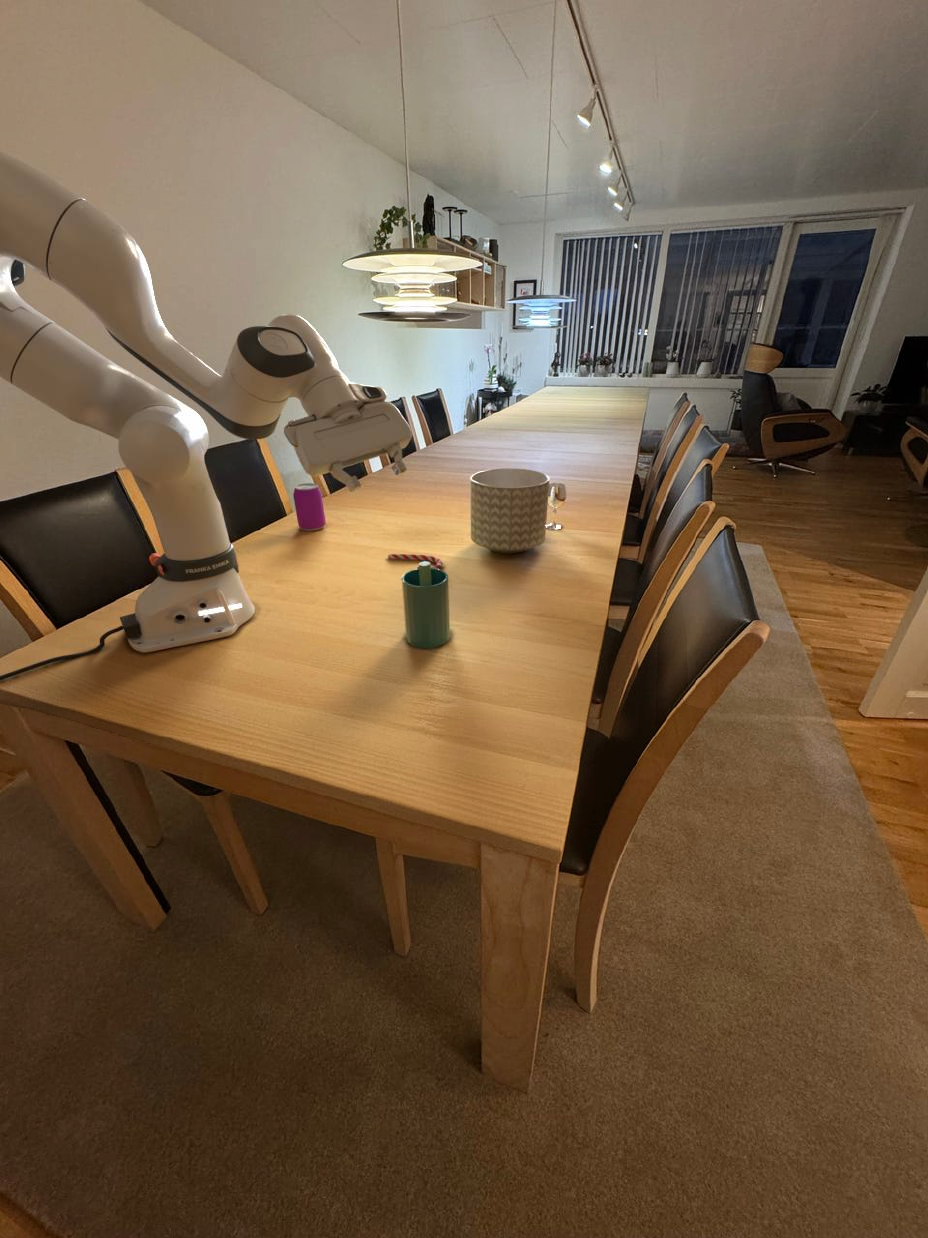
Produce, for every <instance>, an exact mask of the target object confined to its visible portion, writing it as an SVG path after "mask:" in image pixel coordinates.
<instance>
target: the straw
mask: <svg viewBox="0 0 928 1238" xmlns="http://www.w3.org/2000/svg"><path fill="white" fill-rule="evenodd" d="M418 567H419V576H420V586H431V585H432V584H431V567H432V566H431V561H420V562H419V563H418Z"/></svg>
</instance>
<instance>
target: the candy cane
mask: <svg viewBox="0 0 928 1238" xmlns="http://www.w3.org/2000/svg"><path fill="white" fill-rule="evenodd" d="M387 558H388V560H410V561H412V560H413V561H424V562H430V563H431V562H432V563H435V564H436V565H432V566H431V568H435V569H439V570H442V568H443V565H444V564H443V561H442V560H441V558H438V557H436V556H432V555H427V554H411V553H389V554H388V556H387ZM416 569H419V566H417V567H416Z"/></svg>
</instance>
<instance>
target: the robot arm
mask: <svg viewBox="0 0 928 1238" xmlns="http://www.w3.org/2000/svg"><path fill="white" fill-rule="evenodd" d="M25 266H27V267H29V268H31V269H32V270H34V271H35V272H36V273H38V274H40V275H41V276H43V277H45V278H47V279H48V280H49V281H52V282H53V283H54V284H56V285H58V286H59V287H60V288H62V289H63V290H65V291H66V292H68V293H69V294H70V295H71V296H73V297H74V298H75V299H77V301H79V302H80V303H81V304H82V305H83V306H84V307H85V308H87V309H88V311H90V312H91V313H92V314H93V315H94V316H95V317H96V318H97V319H98V320H99V321H100V323H101V324H102V325H103V326H104V328H105V330H106V331H107V332H108V334H109V335H110V337H111V338H112V339H113V340H114V341H115V342H116V343H117V344H118V345H119V346H120V347H122V348H123V349H124V350H125V351H126V352H128V353H129V354H130V355H131V356H133V357H134V358H135V359H137V361H139V362H140V363H142V364H143V365H145V366H146V367H147V368H148V369H150V370H151V371H153V372H154V373H155V374H156V375H158V376H159V377H161V378H162V379H163V380H165V381H166V382H167V383H169V384H170V385H171V386H172V387H174V388H176V390H178V391H179V392H181V393H182V394H184V395H185V396H186V397H188V399H190V400H192V401H193V402H195V403H196V404H197V405H198V406H199V407H201V408H202V409H203V410H204V411H205V412H206V413H208V414H209V415H210V416H211V417H212V418H213V419H214V420H215V421H216V422H217V424H219V425H220V426H221V427H222V428H223V429H224V430H225V431H227V432H228V433H230V434H231V435H233V436H235V437H237V438H241V439H244V440H263V439H266V438H269V437H270V436H271V435H273V433H274V432H275V430H276V428H277V425H278V423H279V420H280V417H281V415H282V412H283V409H284V408H285V406H286V404H287V402H288V399H289V398H296V399H298V400H299V402H300V404H301V407H302V409H303V410H304V411H305V413H306V415H307V416H304V417H301V418H298V419H292V420H289V421H288V422H287V424H286V425H285V426H284V427H283V434H284V436H285V438H286V440H287V441H288V442H289V444H290V446H292V447H293V448H294V451H295V454H296V456H297V458H298V461H299V462H300V465H301V466H302V468H303V471H304V472H305V473H306V474H307V475H309V476H311V477H314V478H316V477H320V476H322V475H326V474H328V473H330V474H331V476H332V477H333V478H334V479H336V480H337V481H339V482H340V483H342V484H343V485H345V486H346V488H347V490H348V491H349V492H350V493H353V492H355V491H358V490H360V488H361V486H362V485H361V482H360V480H359V479H358V477H357V475H352V476H351V475H350V474H348V473H347V472H346V471H345V470H343V469H344V468H346V467H347V468H348V467H350V466H354V465H356V464H357V465H358V464H359V463H363V462H365V461H368V460H369V461H370V460H373V459H375V458H379V457H382V456H384V455H387V454H388V456H389V457H390V458H391V459H392V458H393V461H394V463H393V465H392V466H391V470H392V471H393V472H394V474H395V475H396V476H400V475H403V474H405V473H406V471H408V470H407V466H406V464H405V462H404V461H403V449H405V448H407V447H408V445H409V443H410V441H411V440H412V437H413V430H412V429H411V427H410V424H409V423H408V422H407V420H406V419H405V417H404V416H403V414H402V413H401V412H400V410H399V409H398V408H397V407H396V405H394V403H392V402H391V401H388V400H387V396H388V395H387V392H386V391H385V389H384V388H383V387H381V386H376V385H367V384H366V385H365V384H360V383H355V382H351V381H350V380H349V378H348V377H347V376H346V375H345V374H344V373H343V372H342V371H341V370H340V368H339V365H338V362H337V359H336V358H335V356H334V354H333V353H332V351H331V349H330V348H329V346H328V345H327V343H326V342H325V340H324V339H323V338H322V337H321V335H320V334H319V333H318V332H317V331H316V329H315V328H314V327H313V326H312V325H311V324H310V322H308V321H307V320H306V319H304V318H303V317H302V316H299V315H296V314H291V313H286V314H281V315H279V316H276V317H275V318H273V319H272V320H271V321H269V323H268V324H267V325H257V326H256V325H254V326H250V327H249V326H248V327H246V328H244V329H242V330H241V331H240V332H239V333H238V335H237V337H236V340H235V341H234V344H233V346H232V348H231V352H230V354H229V356H228V360H227V363H226V366H225V369H224V371H223V374H222V375H220V374H219V373H217V372H216V371H214V370H213V369H212V368H211V367H210V366H208V365H207V364H206V363H204V362H203V361H202V360H201V359H199V358H198V357H197V356H196V355H194V354H193V353H192V352H191V351H190V350H188V349H187V348H186V347H184V346H183V345H182V344H181V343H179V342H178V341H177V340H176V339H175V338H174V337H173V336H172V335H171V333H170V332H169V331H168V329H167V328H166V327H165V324H164V323H163V322H164V321H163V320H162V317H161V315H160V313H159V309H158V306H157V303H156V299H155V294H154V289H153V282H152V276H151V272H150V269H149V266H148V263H147V261H146V258H145V256H144V254H143V252H142V250H141V248H140V246H139V244H138V243H137V241H136V240H135V239H134V237H133V236H132V235H131V234H130V233H129V232H128V231H127V230H126V229H125V228H124V227H123V226H122V225H121V224H119V222H117V221H116V220H115V219H114V218H113V217H111V216H110V215H108V214H107V213H105V212H104V211H103V210H101V209H100V208H98V207H97V206H95V205H94V204H92V203H91V202H89V201H88V200H86V198H83V197H82V196H81V195H79V194H77V193H76V192H74V191H73V190H72V189H70V188H69V187H67V186H66V185H64V184H62V183H61V182H59V181H57V180H55V179H54V178H52V177H50V176H49V175H47V174H45V173H44V172H42V171H40V170H39V169H37V168H35V167H33V166H31V165H29V164H27V163H25V162H24V161H22V160H20V159H17V158H15V157H13V156H11V155H9V154H7V153H5V152H2V151H0V378H1V379H3V380H5V381H6V382H8V383H10V384H11V385H13V386H14V387H16V388H17V389H19V390H21V391H22V392H24V393H26V394H27V395H29V396H31V397H33V398H34V399H35V400H37V401H38V402H40V403H42V404H43V405H46V406H47V407H49V408H50V409H52V410H53V411H55V412H56V413H58V414H59V415H62V416H63V417H65V418H67V419H68V420H70V421H72V422H74V423H77V424H80V425H84V426H86V427H89V428H91V429H94V430H97V431H98V432H101V433H103V434H105V435H108V436H110V437H112V438H114V439H116V440H118V442H117V443H118V444H117V446H118V447H117V449H118V454H119V457H120V459H121V461H122V464H123V465H124V466H125V468H126V469H127V470H128V471H129V472H130V473H131V475H132V477H133V479H134V481H135V483H136V485H137V488H138V490H139V491H140V494H141V495H142V497H143V499H144V500H145V503H146V504H147V507H148V509H149V512H150V513H151V515H152V518H153V522H154V524H155V527H156V530H157V534H158V537H159V540H160V543H161V547H162V550H163V554H162V555H161V554H159V553H157V552H154V553H151V554H150V555H149V557H148V558H149V562H150V564H151V565H152V566H153V567H155V570H156V573H157V575H158V576H157V577H156V578H155V579H154V580H153V581H152V582H151V583H150V584H149V585H148V586H147V587H146V588H145V589H144V590H143V591H142V592H141V593H140V594H139V595H138V597H137V598H136V601H135V607H134V613H130V614H126V615H122V616H119V620H120V623H121V625H120V626H118V627H115V628H113V629H110V630H108V631H106V632H105V633H103V634H102V635H101V636H100V638H99V644H98V645H97V646H96V647H95V648H92V649H90V650H88V651H84V652H80V653H71V654H66V655H59V656H55V657H52V658H48V659H44V660H42V661H38V662H36V663H33V664H30V665H28V666H24V667H21V668H19V669H16V670H13V671H10V672H7V673H5V674H1V675H0V681H4V680H6V679H9V678H12V677H15V676H17V675H20V674H23V673H26V672H29V671H32V670H34V669H38V668H40V667H43V666H47V665H50V664H52V663H55V662H60V661H64V660H65V661H66V660H70V659H76V658H80V657H83V656H87V655H90V654H94V653H96V652H99V651H101V650H102V649H103V648H104V647H105V645H106V642H105V641H106V639H107V638H108V637H109V636H111V635H114V634H116V633H119V632H121V631H124V633H125V636H126V639H127V641H128V644H129V646H130V647H131V648H132V649H133V650H135V651H137V652H140V653H143V654H145V653H151V652H156V651H157V652H158V651H161V650H165V649H170V648H175V647H181V646H186V645H191V644H197V643H200V642H205V641H206V642H207V641H210V640H216V639H222V638H226V637H231V636H232V635H233V634H235V633H236V631H237V630H238V628H239V627H241V626H243V624H245V623H246V622H248V621H250V619H251V618H252V617H253V616H254V614H255V612H256V607H255V605H254V604H253V602H252V601H251V599H250V597H249V595H248V593H247V590H246V589H245V587H244V584H243V582H242V580H241V579H242V578H241V576H240V574H239V573H240V569H239V567H240V566H239V561H238V557H237V553H236V550H235V547H234V545H233V544H232V543H231V542H230V538H229V533H228V529H227V526H226V522H225V517H224V513H223V508H222V505H221V502H220V500H219V499H218V497H217V494H216V492H215V490H214V487H213V484H212V481H211V478H210V475H209V471H208V469H207V466H206V463H205V455H206V453H207V451H208V448H209V445H210V436H209V435H210V434H209V431H208V428H207V425H206V424H205V421H204V420H203V418H202V416H200V414H198V413H197V412H196V410H194V409H193V408H191V407H189V406H187V405H186V404H184V403H182V402H181V401H180V400H178V399H176V398H175V397H173V396H171V395H170V394H169V393H166V392H165V391H163V390H162V389H160V388H158V387H156V386H155V385H154V384H152V383H150V382H148V381H146V380H144V379H143V378H142V377H140V376H138V375H136V374H134V373H132V372H130V371H129V370H127V369H125V368H124V367H121V366H119V365H118V364H116V363H114V361H112V360H110V359H109V358H107V357H106V356H104V355H103V354H101V353H100V352H98V351H97V350H95V349H94V348H92V346H90V345H88V344H87V343H85V342H84V341H82V340H81V339H80V338H78V337H77V336H75V335H74V334H72V333H71V332H70V331H67V330H66V329H65V328H64V327H62V326H61V325H59V324H57V323H56V322H55V321H53V320H52V319H51V318H50V317H49V318H48V316H46V315H44V314H43V313H41V312H39V310H37V309H35V307H32V306H31V305H30V304H29V303H27V302H26V301H25V300H24V299H23V298H22V297H21V296H20V295H19V293H18V292H17V290H16V288H15V287H17V286H19V285H21V284H23V283H24V282H25V280H26V279H25V278H26V270H25V269H26V268H25Z"/></svg>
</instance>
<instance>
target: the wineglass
mask: <svg viewBox="0 0 928 1238" xmlns="http://www.w3.org/2000/svg"><path fill="white" fill-rule="evenodd" d="M566 489H567V487H566V484H564V483H563V482H552V483H551V482H549V492H548V507H550V508H551V509H552V523H549V524H546V529H548V530H553V531H554V530H560V529H562V526H561V525H560V524H556V515H557V509H558V508H561V507H563V506H564V505H565V504H566V500H567V490H566Z"/></svg>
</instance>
